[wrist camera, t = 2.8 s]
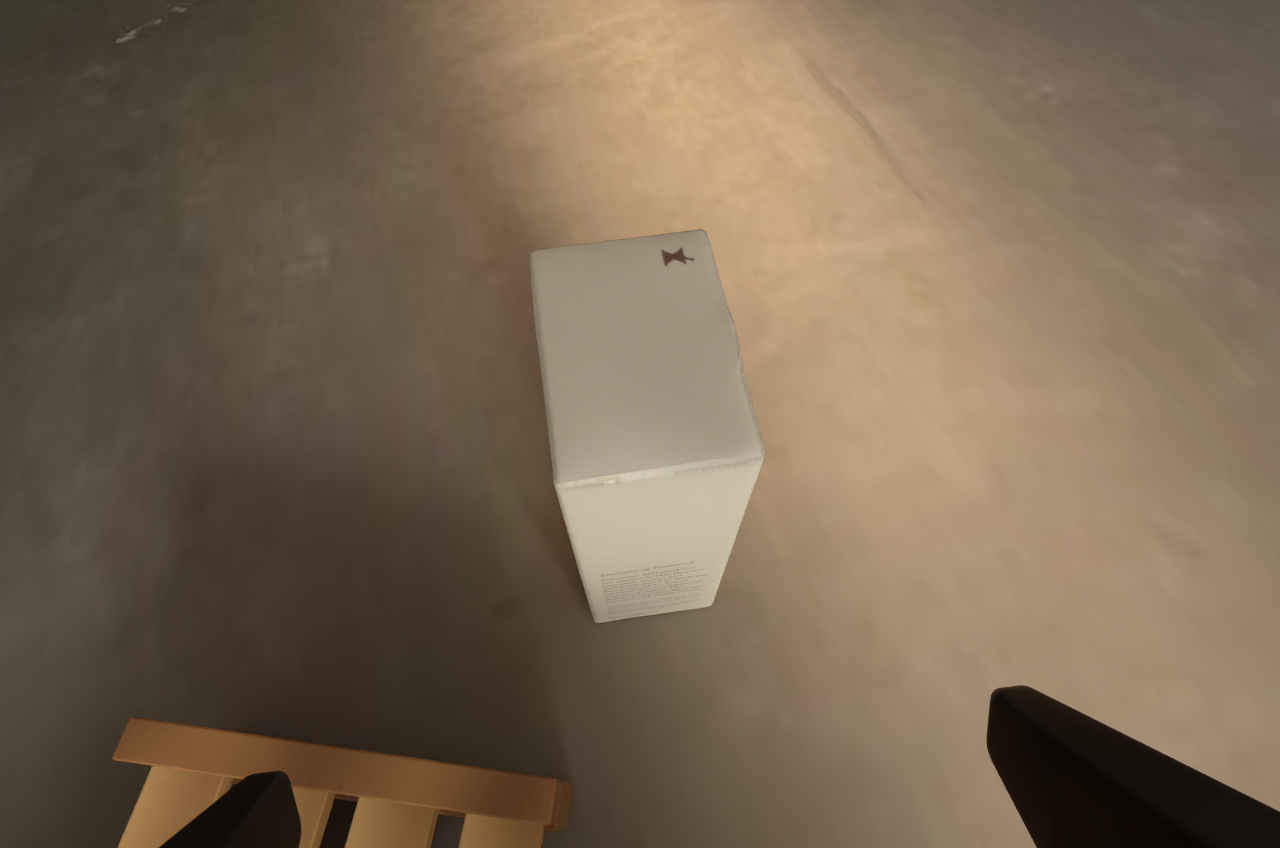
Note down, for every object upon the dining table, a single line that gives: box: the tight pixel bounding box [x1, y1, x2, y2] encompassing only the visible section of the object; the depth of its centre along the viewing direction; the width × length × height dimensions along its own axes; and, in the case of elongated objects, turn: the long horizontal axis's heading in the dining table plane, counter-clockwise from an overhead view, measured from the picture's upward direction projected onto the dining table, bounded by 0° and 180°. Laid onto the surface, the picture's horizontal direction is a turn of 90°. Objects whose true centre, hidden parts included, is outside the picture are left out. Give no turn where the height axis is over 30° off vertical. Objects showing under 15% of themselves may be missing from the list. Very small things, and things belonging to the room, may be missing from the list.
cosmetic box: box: [530, 229, 765, 623], centre depth 19 cm, size 6×4×12 cm
